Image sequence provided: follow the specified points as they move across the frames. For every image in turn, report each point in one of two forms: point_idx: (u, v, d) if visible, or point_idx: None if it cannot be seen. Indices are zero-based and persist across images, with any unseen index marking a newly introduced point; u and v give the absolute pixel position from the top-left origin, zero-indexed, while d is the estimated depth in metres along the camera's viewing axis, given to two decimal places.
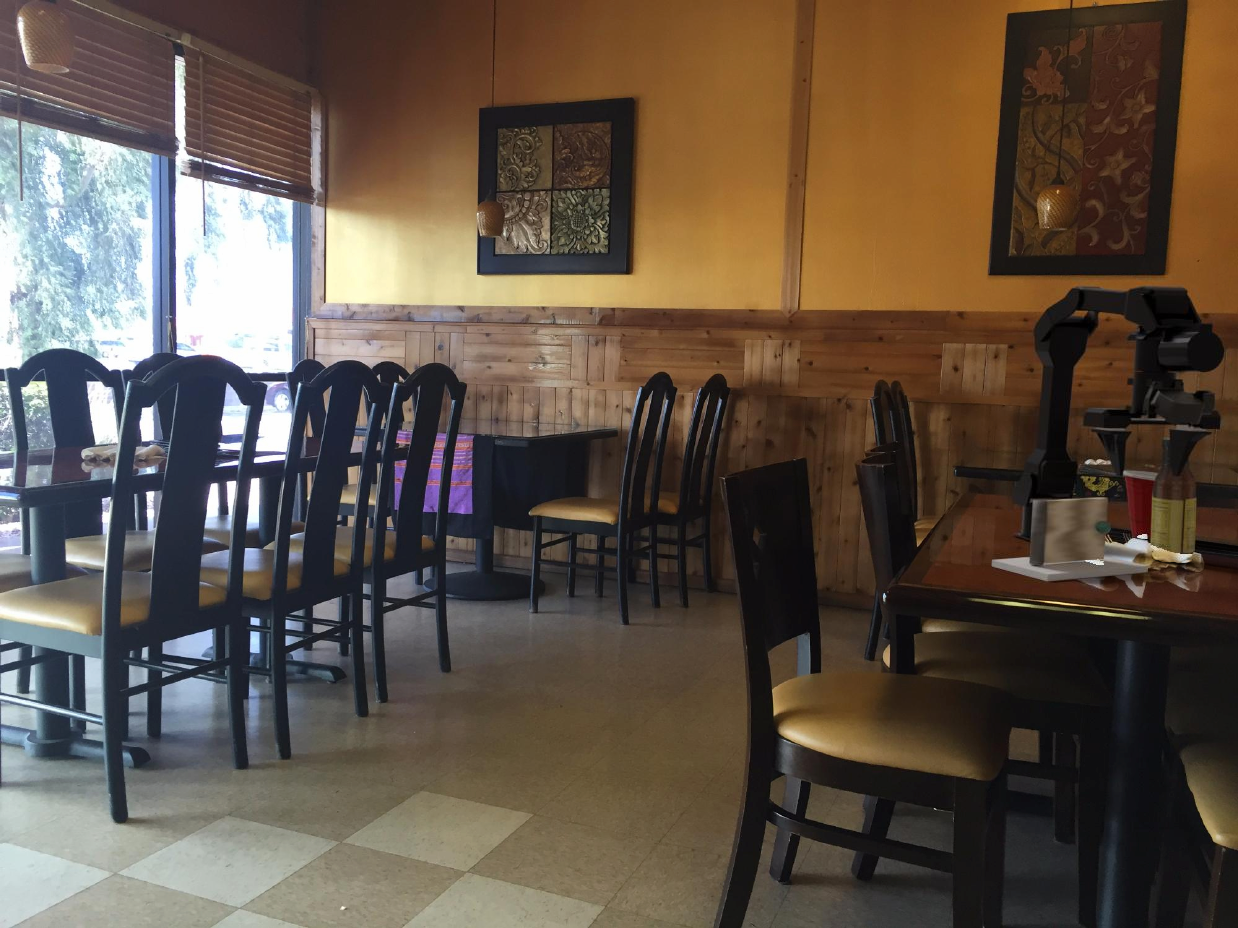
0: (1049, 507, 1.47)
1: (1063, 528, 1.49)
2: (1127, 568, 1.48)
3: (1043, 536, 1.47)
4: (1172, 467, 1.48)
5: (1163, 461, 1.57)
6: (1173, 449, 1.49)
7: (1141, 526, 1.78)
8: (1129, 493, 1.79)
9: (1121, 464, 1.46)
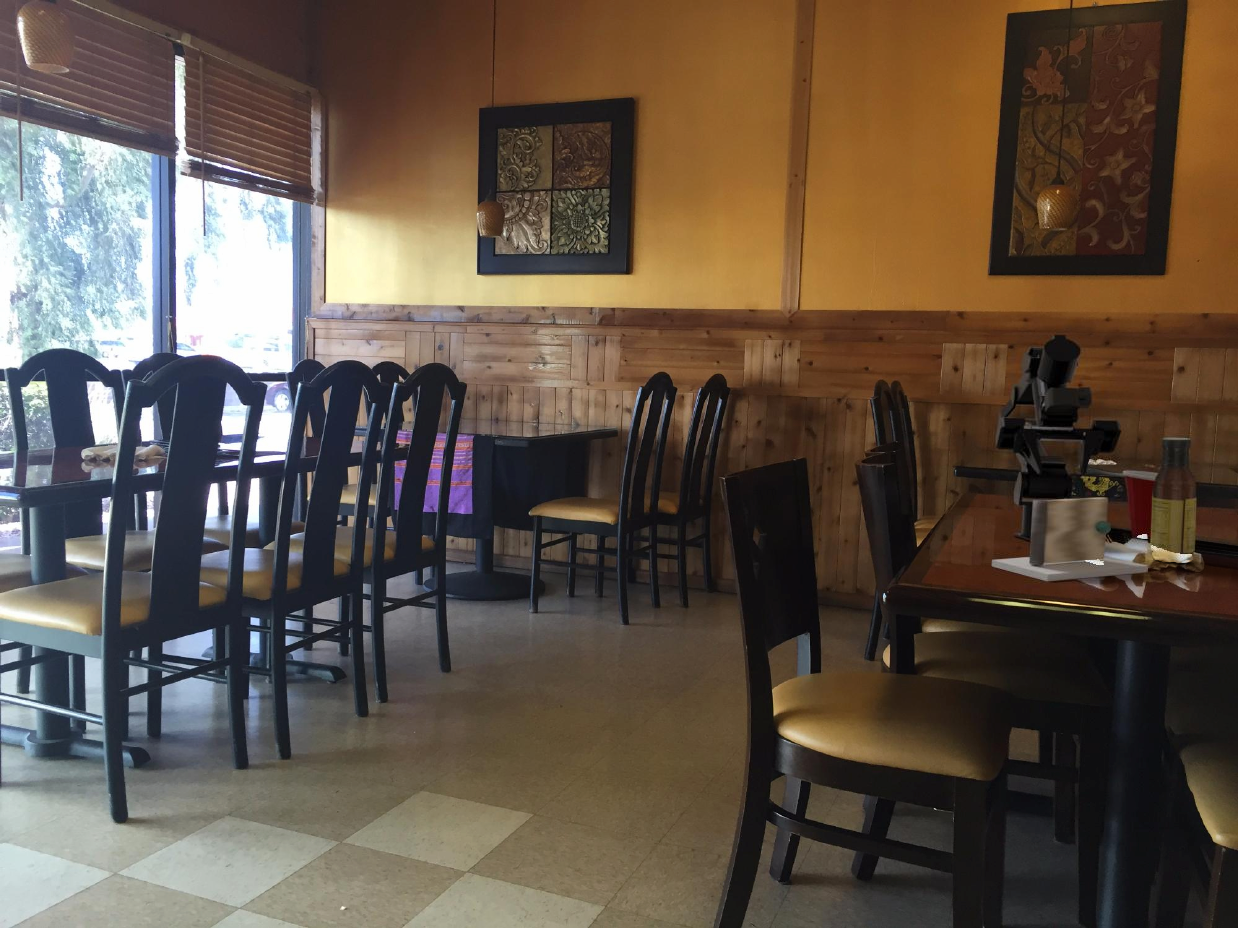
0: (1049, 507, 1.47)
1: (1063, 528, 1.49)
2: (1127, 568, 1.48)
3: (1043, 536, 1.47)
4: (1081, 470, 1.61)
5: (1163, 461, 1.57)
6: (1080, 460, 1.63)
7: (1141, 526, 1.78)
8: (1129, 493, 1.79)
9: (1037, 460, 1.62)
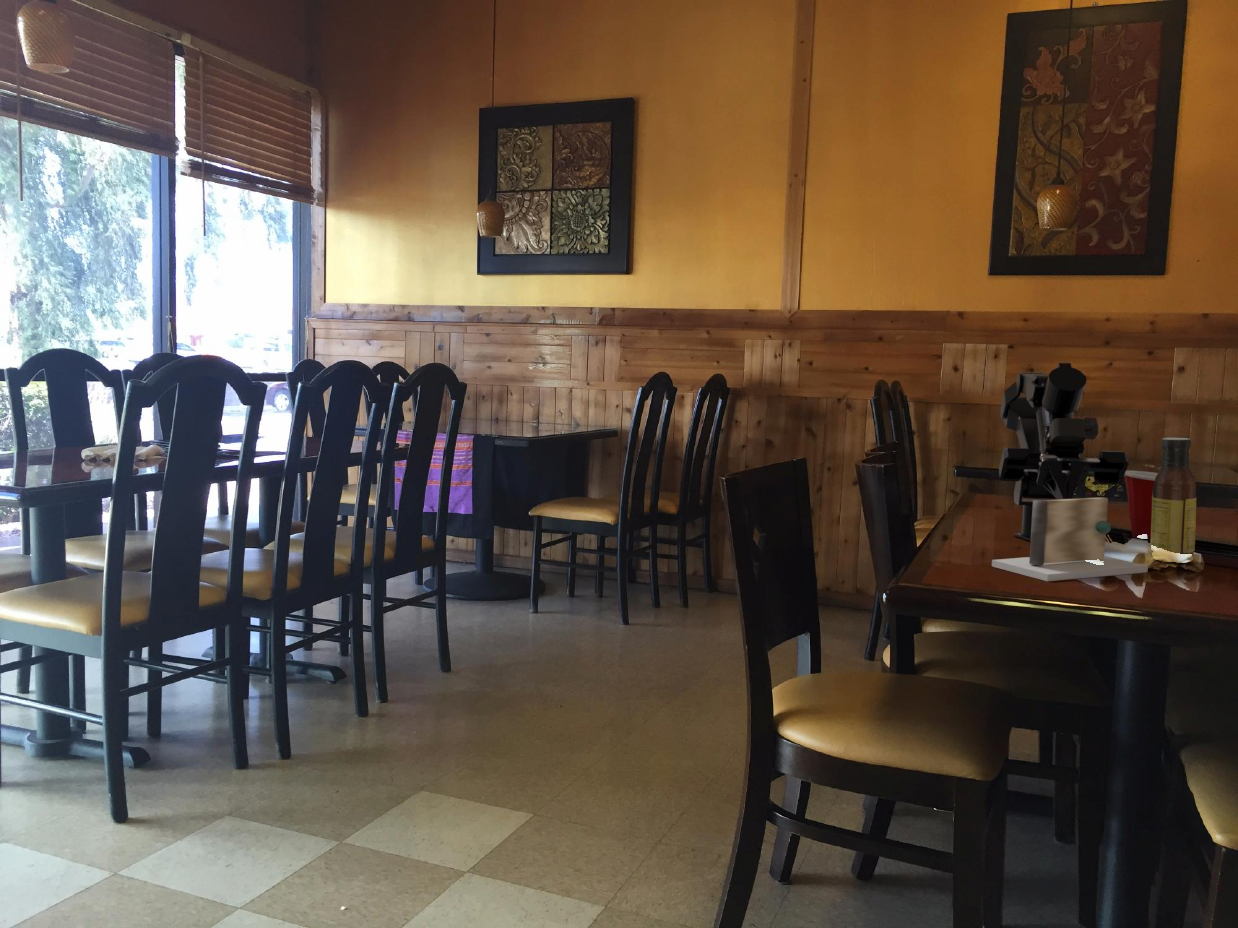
0: (1049, 507, 1.47)
1: (1063, 528, 1.49)
2: (1127, 568, 1.48)
3: (1043, 536, 1.47)
4: None
5: (1163, 461, 1.57)
6: None
7: (1141, 526, 1.78)
8: (1129, 493, 1.79)
9: (1063, 493, 1.56)
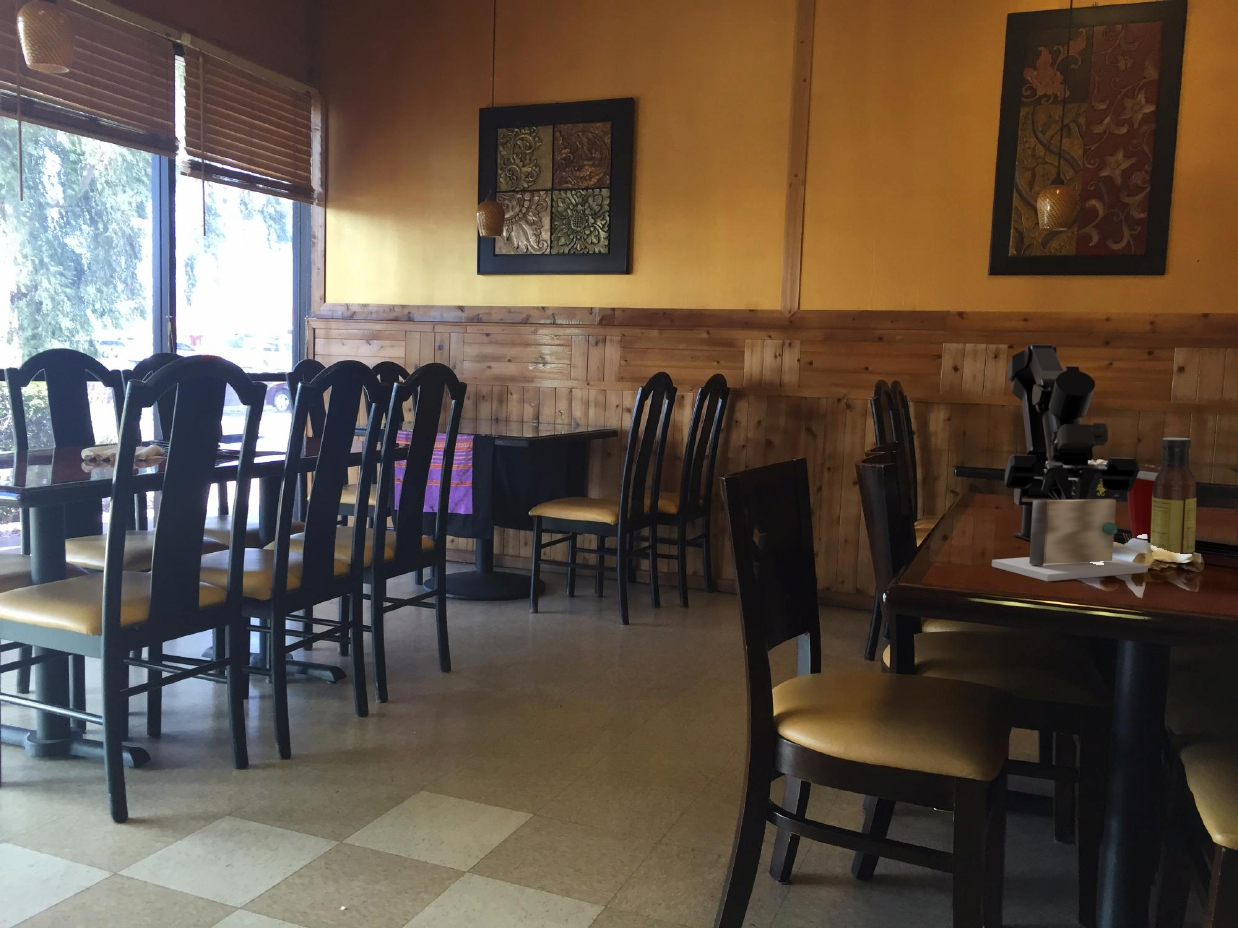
0: (1049, 507, 1.47)
1: (1066, 529, 1.48)
2: (1127, 568, 1.48)
3: (1042, 536, 1.46)
4: None
5: (1163, 461, 1.57)
6: None
7: (1141, 526, 1.78)
8: (1129, 493, 1.79)
9: None
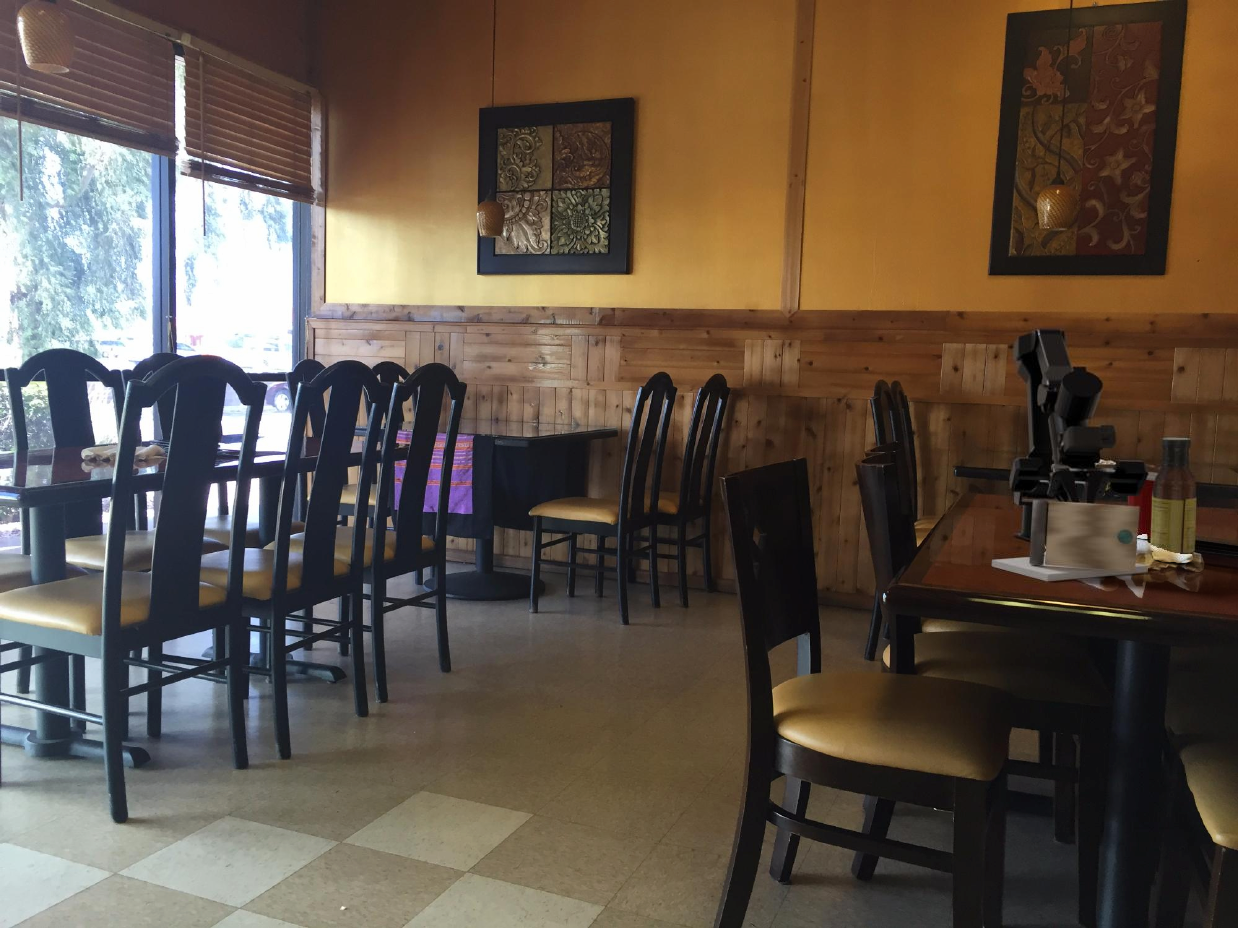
0: (1050, 508, 1.46)
1: (1071, 532, 1.45)
2: None
3: (1038, 536, 1.46)
4: None
5: (1163, 461, 1.57)
6: None
7: (1141, 526, 1.78)
8: None
9: None
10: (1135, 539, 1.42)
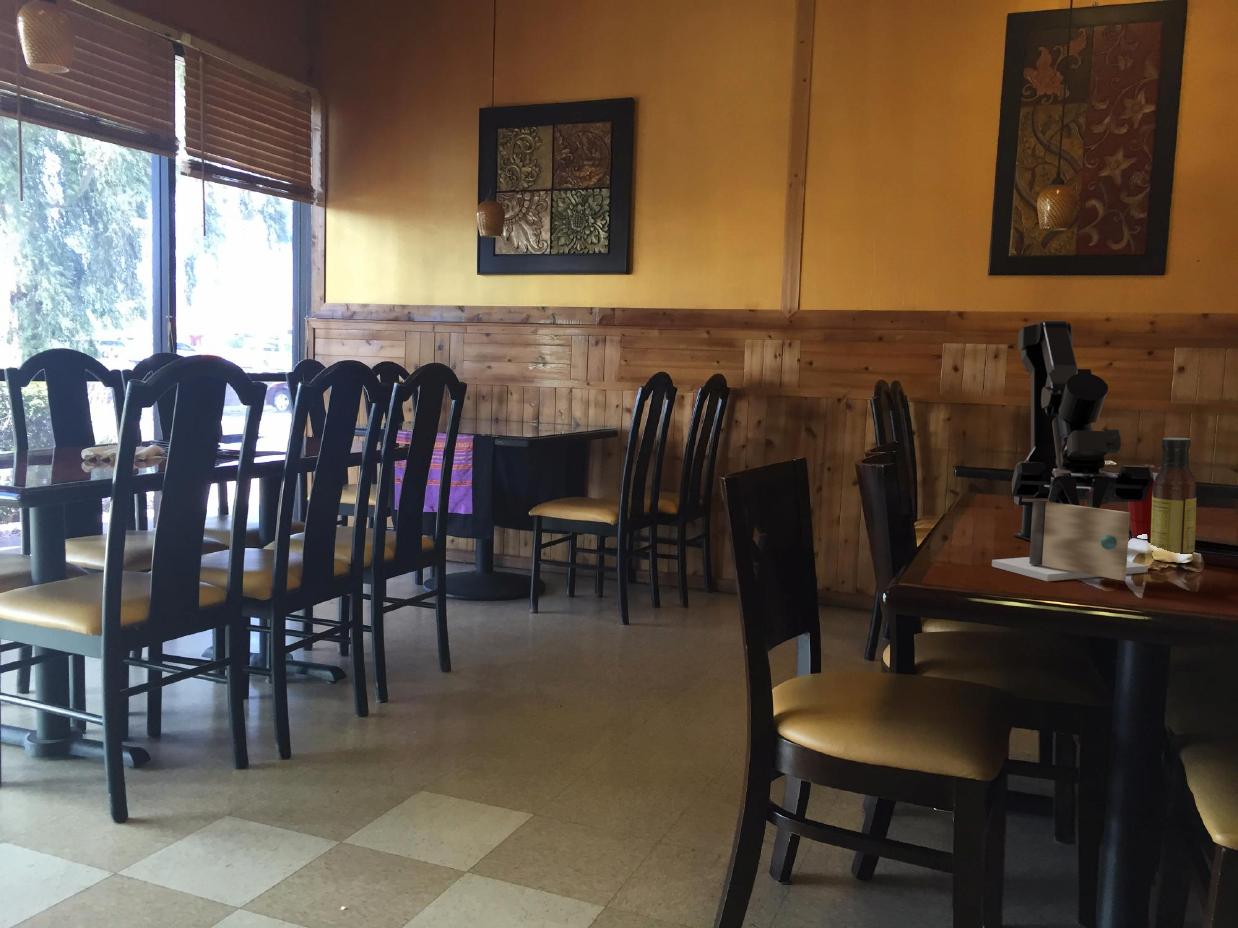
0: (1046, 509, 1.46)
1: (1065, 534, 1.43)
2: (1127, 568, 1.48)
3: (1034, 536, 1.47)
4: None
5: (1163, 461, 1.57)
6: None
7: (1141, 526, 1.78)
8: None
9: None
10: (1122, 546, 1.37)
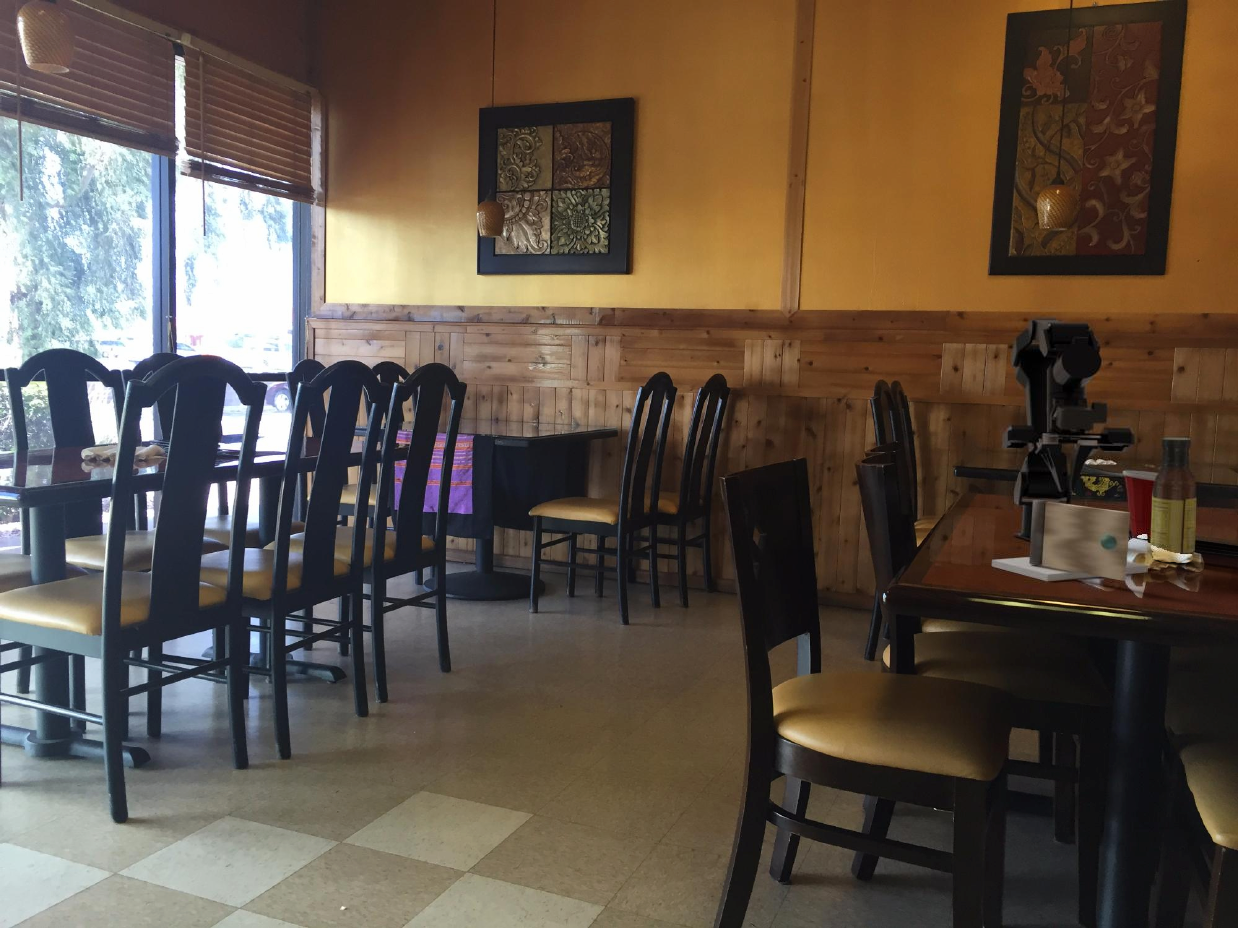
0: (1046, 509, 1.46)
1: (1065, 534, 1.43)
2: (1127, 568, 1.48)
3: (1034, 536, 1.47)
4: (1069, 484, 1.57)
5: (1163, 461, 1.57)
6: (1071, 468, 1.58)
7: (1141, 526, 1.78)
8: (1129, 493, 1.79)
9: (1060, 478, 1.56)
10: (1122, 546, 1.37)
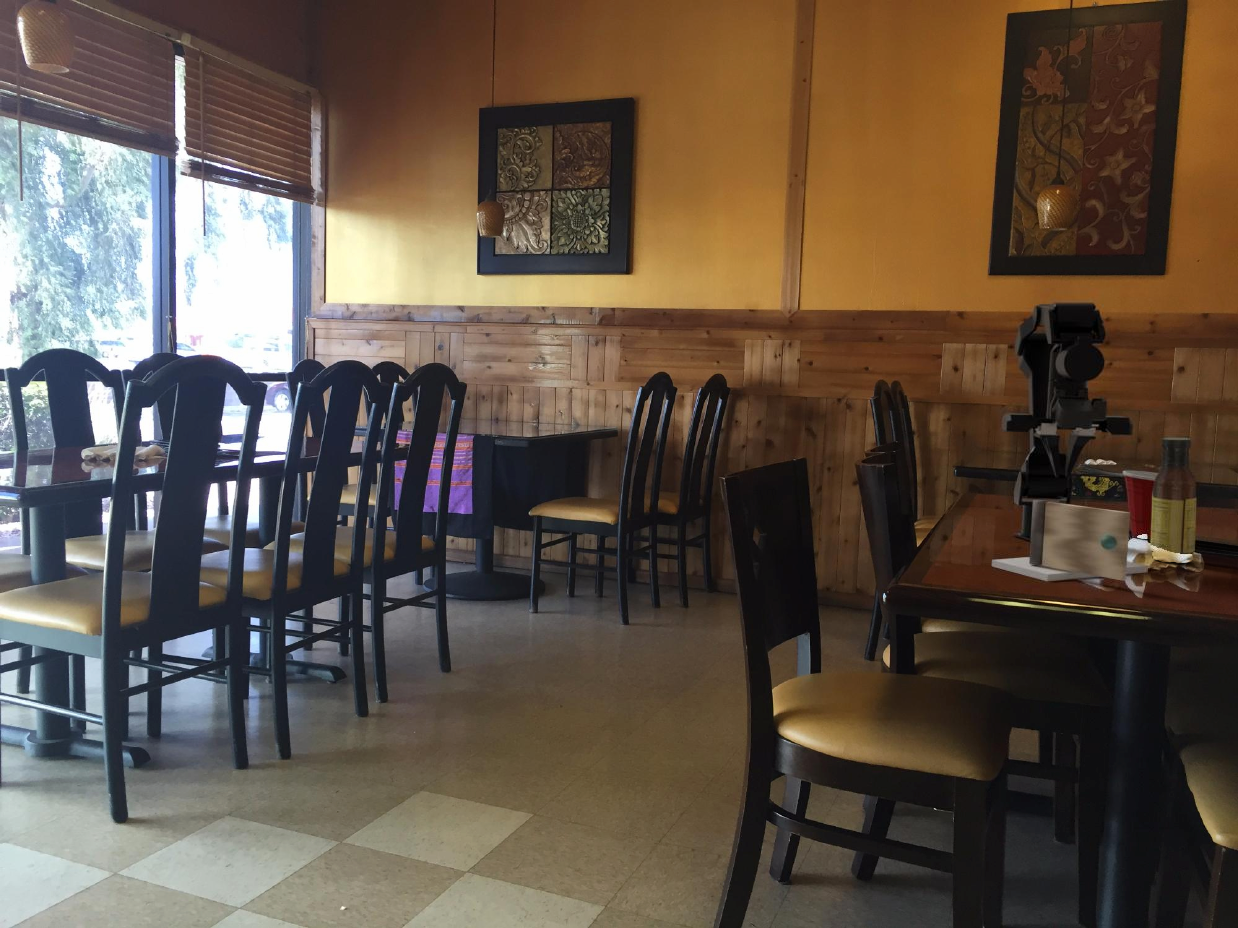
0: (1046, 509, 1.46)
1: (1065, 534, 1.43)
2: (1127, 568, 1.48)
3: (1034, 536, 1.47)
4: (1065, 469, 1.60)
5: (1163, 461, 1.57)
6: (1068, 452, 1.60)
7: (1141, 526, 1.78)
8: (1129, 493, 1.79)
9: (1056, 465, 1.59)
10: (1122, 546, 1.37)
